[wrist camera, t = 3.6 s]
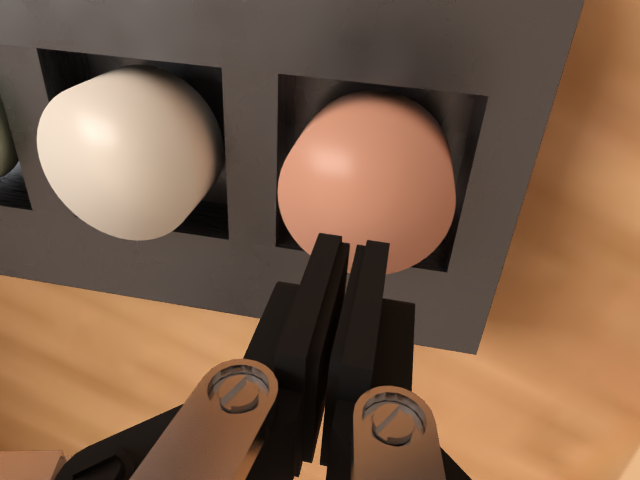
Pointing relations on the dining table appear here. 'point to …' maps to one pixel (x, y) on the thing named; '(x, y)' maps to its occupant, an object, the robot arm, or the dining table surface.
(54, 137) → the cream button
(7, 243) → the button console
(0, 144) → the sage button
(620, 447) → the dining table surface
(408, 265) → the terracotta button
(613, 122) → the dining table surface
